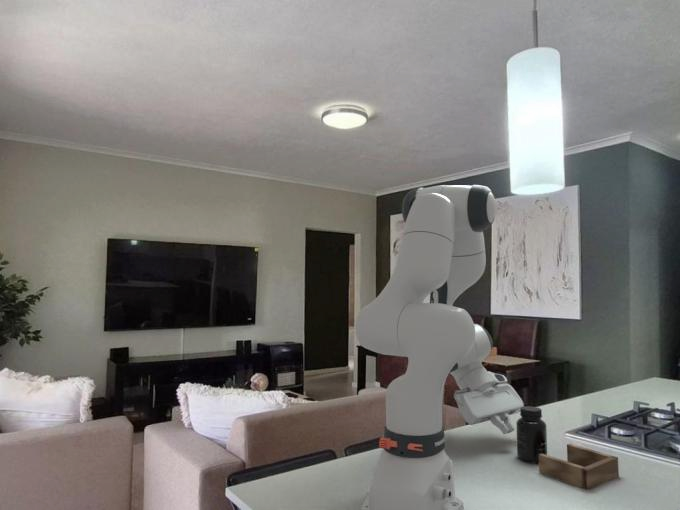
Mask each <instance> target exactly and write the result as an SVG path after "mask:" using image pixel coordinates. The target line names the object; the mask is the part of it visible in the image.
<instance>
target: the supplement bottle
mask: <svg viewBox="0 0 680 510" xmlns="http://www.w3.org/2000/svg"><path fill="white" fill-rule="evenodd" d="M542 410H543V409H541V408H540V407H538V406H527V405H526V406H525V405H524V407H521V408H520V411H519V415H520V417H519V418H518V419H517V421H516V456H517V458H518V459H519V460H520V461H523V462H526V463H530V464H539V454H541V453H542V454H545V455H548V438H547V437H548V434H547V432H548V429H547V423H546V422H545V420H543V419H542V418H543V415H542V412H543V411H542Z"/></svg>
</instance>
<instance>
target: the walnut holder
mask: <svg viewBox="0 0 680 510" xmlns="http://www.w3.org/2000/svg"><path fill="white" fill-rule="evenodd" d="M566 456H567V458H566V460H563V459H561V458H557V457H555V456H551V455H548V454H547V455H545V454H542V453H541V454H539V463H538V473H539V472H540V473H539V474H541V473H542V475H544V474H545V476H547V475H548V476H547V477H550V478H552V479H553V478H554V479H556V480H558V481H561V482H563V483H567V484H569V485H573V486H576V487H578V488H581V489H584V490H587V491H589V490H591V489H593V488H595V487H597V486H601V485H602V484H605V483H606V482H608V481H610V480H612V479H615V478H618V477H619V474H620V471H619V457H617V456H615V455H611V454H608V453H604V452H600V451H597V450H594V449H590V448H586V447H583V446H580V445H576V444H573V443H567V444H566Z"/></svg>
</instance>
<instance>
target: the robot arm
mask: <svg viewBox="0 0 680 510" xmlns="http://www.w3.org/2000/svg"><path fill="white" fill-rule="evenodd" d="M401 214H402V219H403V222H404V227H403V231H402V236H401V241H400V246H399V250H398V255H397V259H396V262H395V267H394V269H393V272H392V273H391V276H390V278H389V280H388V282H387V283H386V285H385V286H384V288H383V289H382V290H381V292H380V293H379V295H377V297H376V298H375V299H373V300H372V301H371V302H370V303H368V304H367V305H365V306H363V307H362V308H361V310H360V311H359V312H358V315H357V317H356V320H355V324H354V327H355V328H354V330H355V335H356V339H357V341H358V343H359V344H360V345H361V346H362V347H363V348H364V349H367V350H369V351H371V352H374V353H377V354H380V355H386V356H395V357H405V358H407V361H408V362H407V369H406V371H405V373H404V374H402V375H400V376H398V377H396V378H395V379H393V380H392V381H391V382H390V383H389V385H388V386H387V387H386V391H385V421H386V424H385V425H384V430H383V434H382V436H381V437H380V438H379V442H378V444H379V449H381V450H380V455H379V458H378V461H377V464H376V466H375V470H374V473H373V476H372V480H371V483H370V486H369V491H368V493H367V495H366V497H365V499H364V502H363V504H362V506H361V508H360V510H462V509H463V510H464V502H463V501H462V500H461V499H460V498H458V497H457V496H456V489H455V477H454V476H455V475H454V465H453V461H452V459H451V458H450V457H449V456H448V455H447V453H446V451H445V448H446V434H445V428H444V426H443V394H444V388H445V384H446V382H447V378H448V376H449V374H450V375H451V376H452V377H453V378H454V380H455V382H456V385H457V387H459V389H456V390H454V393H453V398H454V399H455V401H456V405H457V407H458V409H459V411H460V414H461V416H462V417H463V419H464V421H465V422H466V423H467V424H468V425H469V426H473V425H477V424H482V423H486V422H489V421H490V422H491V424H492V425H493V426H495V427H496V428H498V429H499V430H500V431H501V433H502V434H503V435H506V434H509V433H510V434H511V433H513V432H514V431H515V427H514V426H513V424H512V420H511V416H512V415H516V414H518V413H520V408H521V407H525V403H524V402H523V400H522V398H521V397H520V395H519V394H518V392H517V391H516V390H515V388H514V387H513V386H512V385H510V384H509V383H508V378H507V377H506V376H505V375H504V374H500V373H495V372H492V371H488V370H487V369H486V368H485V367H484V365H483V364H482V363H483V361H484V360H486V359H488V357H490V355H491V353H492V351H493V348H494V347H493V345H494V342H493V337H492V336H491V334H490V333H489V332H488V330H487V329H486V328H485V327H483V326H482V325H480V324H478V323H474V321H473V318H472V316H471V314H470V313H469V312H468V311H467V310H466V309H464V308H461V307H457V306H454V302H455V301H456V300H457V299H458V297H459V296H460V295H462V294H463V293H464V292H465V291H466V290H467V289H469V288H470V287H472V286H473V285H475V284H476V283H477V282H478V281H479V280H480V278H482V276H483V274H484V273H485V271H486V270H485V269H486V265H487V264H486V263H487V262H486V261H487V258H486V244H485V237H484V236H485V235H484V230H487V229H488V228H489V227H490V226H491V225H492V224H493V223H494V221H495V218H496V214H497V202H496V198H495V195H494V192H493V191H492V190H491V189H490V188H489V187H488V186H486V185H480V184H472V185H463V184H462V185H461V184H460V185H458V184H457V185H456V184H455V185H448V184H442V185H434V186H433V185H432V186H430V187H429V186H428V187H417V188H414V189H411V190H409V191H408V192H407V193H406V195H405V196H404V197H403V200H402V204H401ZM428 296H429V302H424V301H425V300H426V298H427V297H428Z"/></svg>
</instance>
